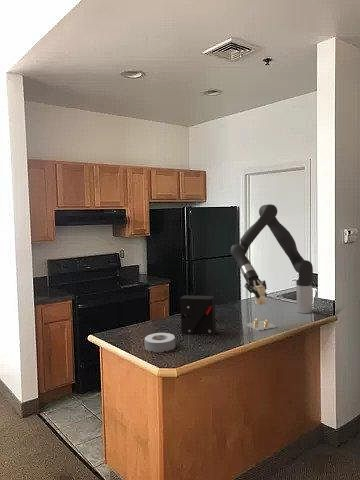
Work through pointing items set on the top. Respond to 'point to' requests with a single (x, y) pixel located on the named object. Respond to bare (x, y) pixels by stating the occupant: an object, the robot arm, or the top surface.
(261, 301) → the block
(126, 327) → the top surface
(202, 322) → the electrical component
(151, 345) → the tape roll
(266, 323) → the plate
